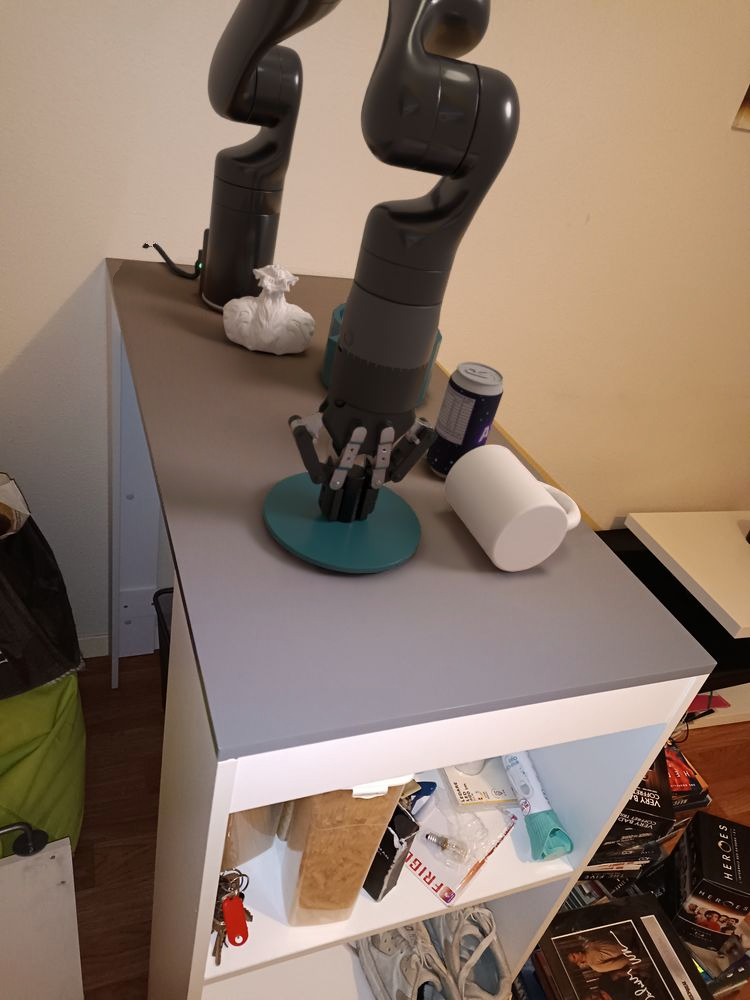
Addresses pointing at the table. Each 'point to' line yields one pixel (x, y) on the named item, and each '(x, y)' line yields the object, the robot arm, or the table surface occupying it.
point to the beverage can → (465, 414)
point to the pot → (332, 346)
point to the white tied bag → (269, 316)
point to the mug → (508, 507)
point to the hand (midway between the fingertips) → (343, 514)
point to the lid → (342, 525)
